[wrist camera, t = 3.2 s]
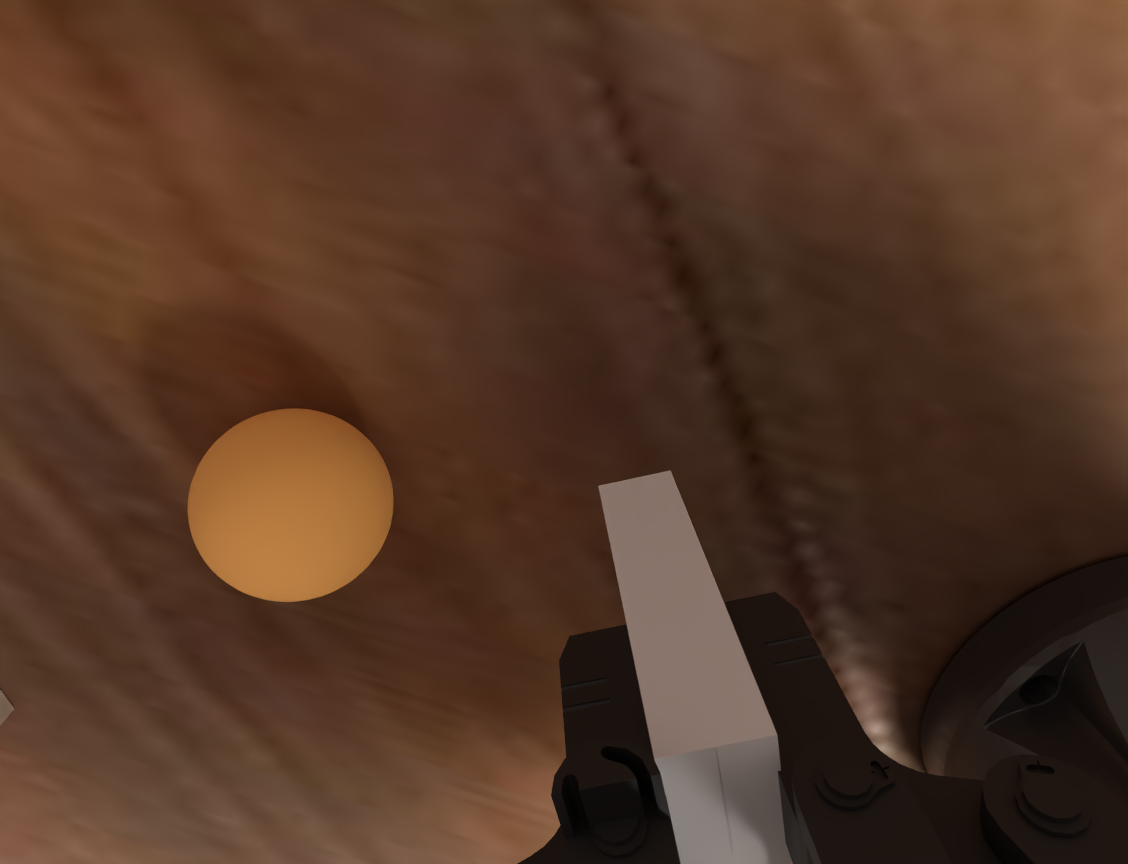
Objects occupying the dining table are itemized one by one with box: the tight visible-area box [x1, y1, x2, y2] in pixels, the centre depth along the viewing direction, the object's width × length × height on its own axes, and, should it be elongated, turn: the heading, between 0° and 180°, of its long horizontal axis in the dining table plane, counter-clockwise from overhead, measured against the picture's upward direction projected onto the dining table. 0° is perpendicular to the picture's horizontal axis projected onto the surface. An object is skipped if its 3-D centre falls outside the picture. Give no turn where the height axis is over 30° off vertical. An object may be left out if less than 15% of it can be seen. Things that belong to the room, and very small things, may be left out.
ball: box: [188, 408, 394, 602], centre depth 20 cm, size 6×6×6 cm
